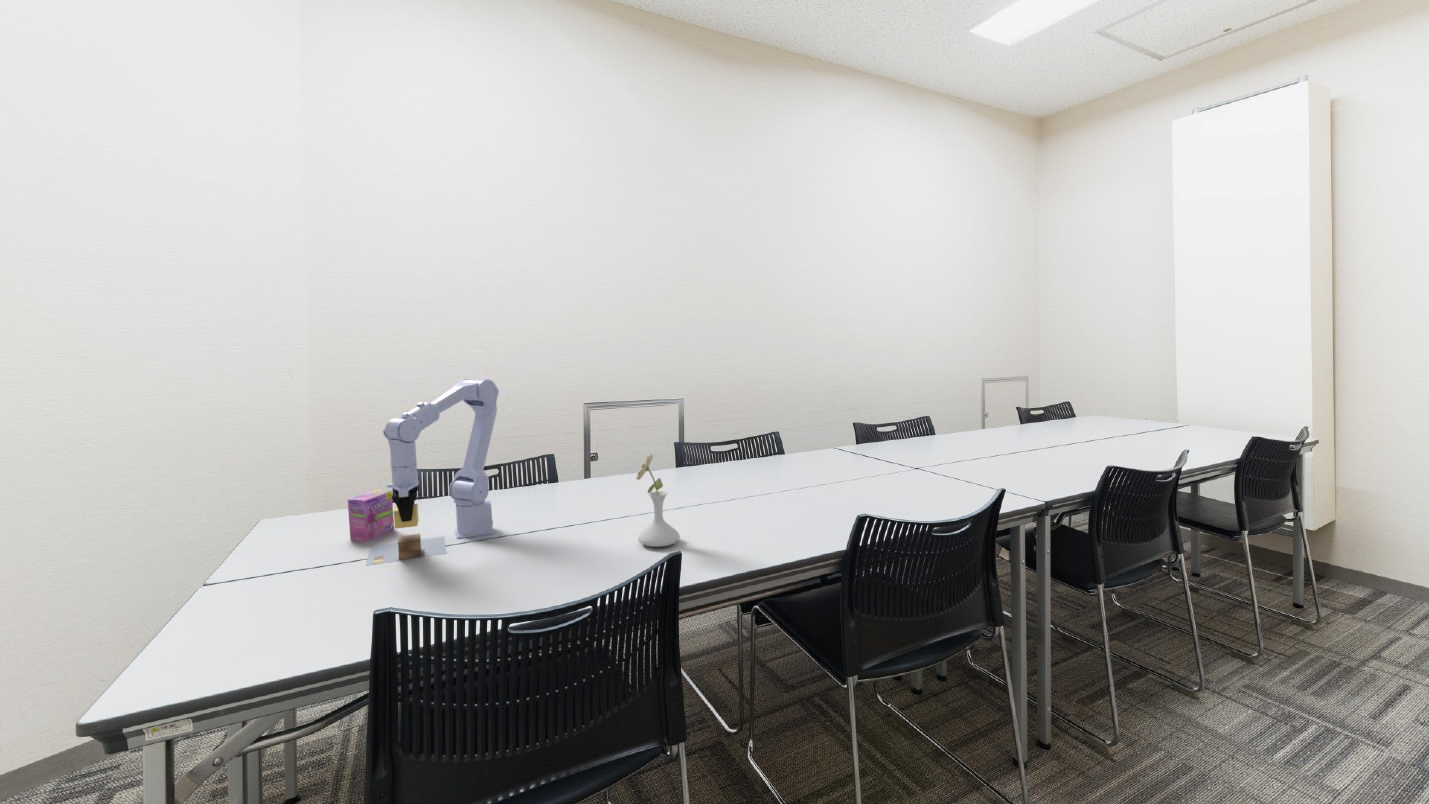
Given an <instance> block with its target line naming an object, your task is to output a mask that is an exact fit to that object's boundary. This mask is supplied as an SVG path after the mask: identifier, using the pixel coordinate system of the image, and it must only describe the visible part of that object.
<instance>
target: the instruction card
mask: <svg viewBox="0 0 1429 804" xmlns="http://www.w3.org/2000/svg"><path fill="white" fill-rule="evenodd" d="M445 539H446V538H445V536H444V535H443V536H436V537H430V538H429V537H428V538H422V539H421V557H414V558H408V559H401V560H399V550H398V542H396V543H395V542H393V543H392V542H391V543H386V544H381V545H380V544H379V545H372V546H371V545H370V547H369V550H368V555H367V559H366V563H365V566H366V567H368V566H375V565H380V564H386V563H395V562H400V561H402V562H403V561H407V560H415V559H420V558H428V557H433V556H440V555H446V554H447V549H446V547H447V546H446V540H445Z"/></svg>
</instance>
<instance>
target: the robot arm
mask: <svg viewBox="0 0 1429 804" xmlns="http://www.w3.org/2000/svg"><path fill="white" fill-rule="evenodd" d="M499 392H500V391H499V388H498V387H497V384H495V382H494V381H493V380H491V379H473V378H472V379H471V378H463V379H461V380H460V381H459V382H456V383H455V384H454V386H453V387H452V388H450V389H448V390H447V391H446V392H444V393H443V394H442V395H440V396H439V397H437V398H436V399H435V400H433V401H432V402H428V401H423V402H421V401H420V402H417V404H416V407H414V408H413V409H411V410H409V411H408V412H403V413H402V414H401V416H400V417H395V418H391V419H389V421H388V422H386V424H385V427H384V430H383V431H382V434H383V436H384V438H385V439H386V440H387V442H388V446H389V454H390V468H391V482H390V483H387V484H386V487H387V488H391V489H394V493H392V502H394V503H395V506H397V508H398V511H399V514H400V518H401V520H402V522H406V521H411V520H412V514H413V505H414V504H415V501H416V499H417V497H418V491H419V488H420V486H419V485H420V484H419V483H420V482H419V479H418V465H417V461H418V460H417V450H416V449H417V446H416V440H418V438H419V436H420V434H421V432H422V431H423V430H425V429H426V428H428V427H430V426H431V425H432V424H434V423H436V422H437V421H438V420H439V419H440V414H441V413H443V412H444V411H446V410H448V409H450V408H452V407H453V406H454V405H457V404H458V403H460V402H464V403H465V404H466V405H468V406H469V407H470V408H471V409H472V410H473V412H474V414H475V416H474V420H473V423H472V424H473V425H472V427H471V432H470V436H469V440H468V445H467V449H466V453H465V456H464V457H465V459H464V462H463V466H462V467H461V468H460V469H459V470H458V471H456V472H455V474H454V478H453V479H452V481H451V482H450V485H449V487H448V495H449V496H450V498H451V499H452V500H453V502H454V503H453V504H455V515H456V529H455V530H454V532H455V537H456V539H458V540H459V539H465V538H472V537H477V536H487V535H492V534H493V533H494V532H493V525H494V521H493V515H492V514H493V513H492V511H493V510H492V503H491V500H486V499H487V498H488V495H489V491H490V489H489V481H490V478H489V476H488V475H487V473H486V472H485V470H484V469H485V464H486V460H487V456H488V452H489V451H488V450H489V446H490V443H491V439H492V435H493V430H494V425H495V422H496V418H497V417H496V416H497V413H498V410H497V409H498V408H497V407H498V406H497V401H498V397H499Z"/></svg>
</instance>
